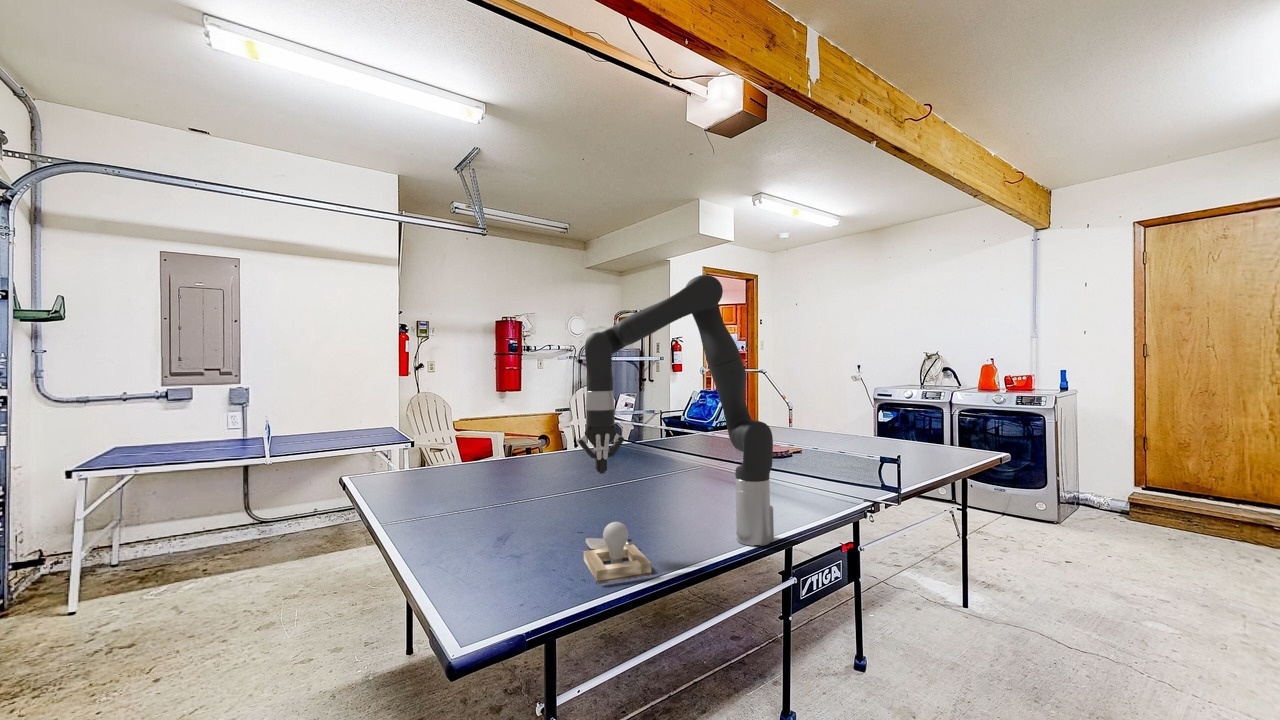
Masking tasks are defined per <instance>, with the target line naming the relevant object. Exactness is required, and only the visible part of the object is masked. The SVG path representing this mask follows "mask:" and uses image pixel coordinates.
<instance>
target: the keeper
mask: <svg viewBox="0 0 1280 720" xmlns="http://www.w3.org/2000/svg"><path fill="white" fill-rule="evenodd" d="M629 542H630V541H629V540H627V542H626V544H625V545H628V543H629ZM585 543H586V544H587V546H588V547H589V549H590V550H596V549H603V548H608V547H607V545H606V543H605V541H604V539H603V538H598V537H597V538H595V537H594V538H593V537H586V538H585Z"/></svg>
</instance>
